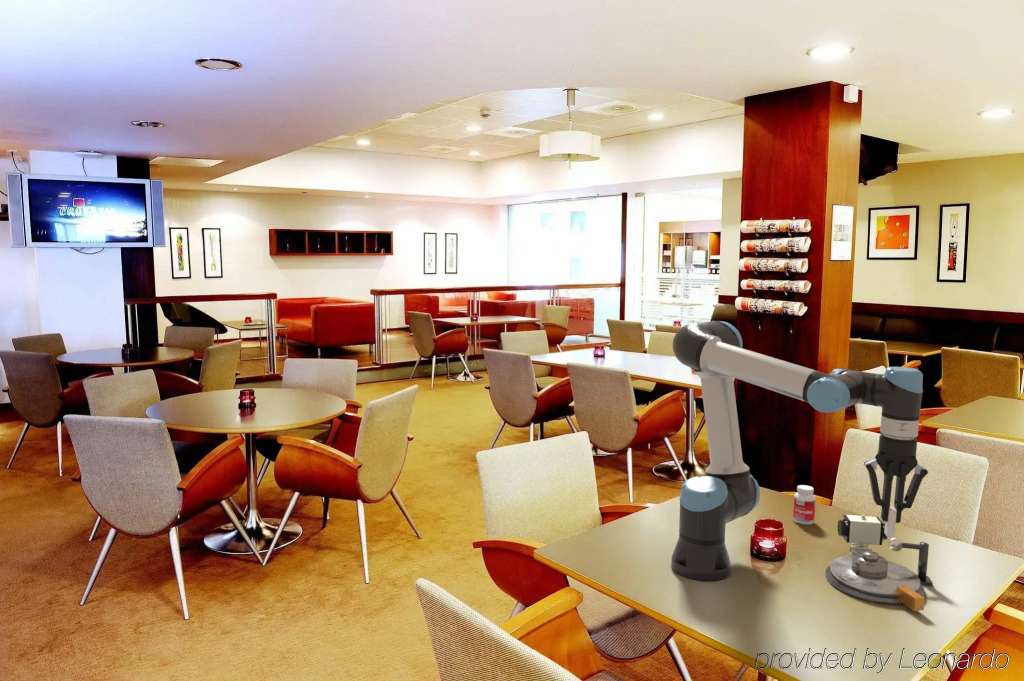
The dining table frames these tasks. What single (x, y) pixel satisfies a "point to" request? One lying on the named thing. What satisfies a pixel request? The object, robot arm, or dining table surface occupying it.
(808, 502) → the pill bottle
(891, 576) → the turntable
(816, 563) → the dining table surface
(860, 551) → the pneumatic valve
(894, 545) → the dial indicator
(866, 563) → the cover
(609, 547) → the dining table surface
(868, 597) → the turntable base
